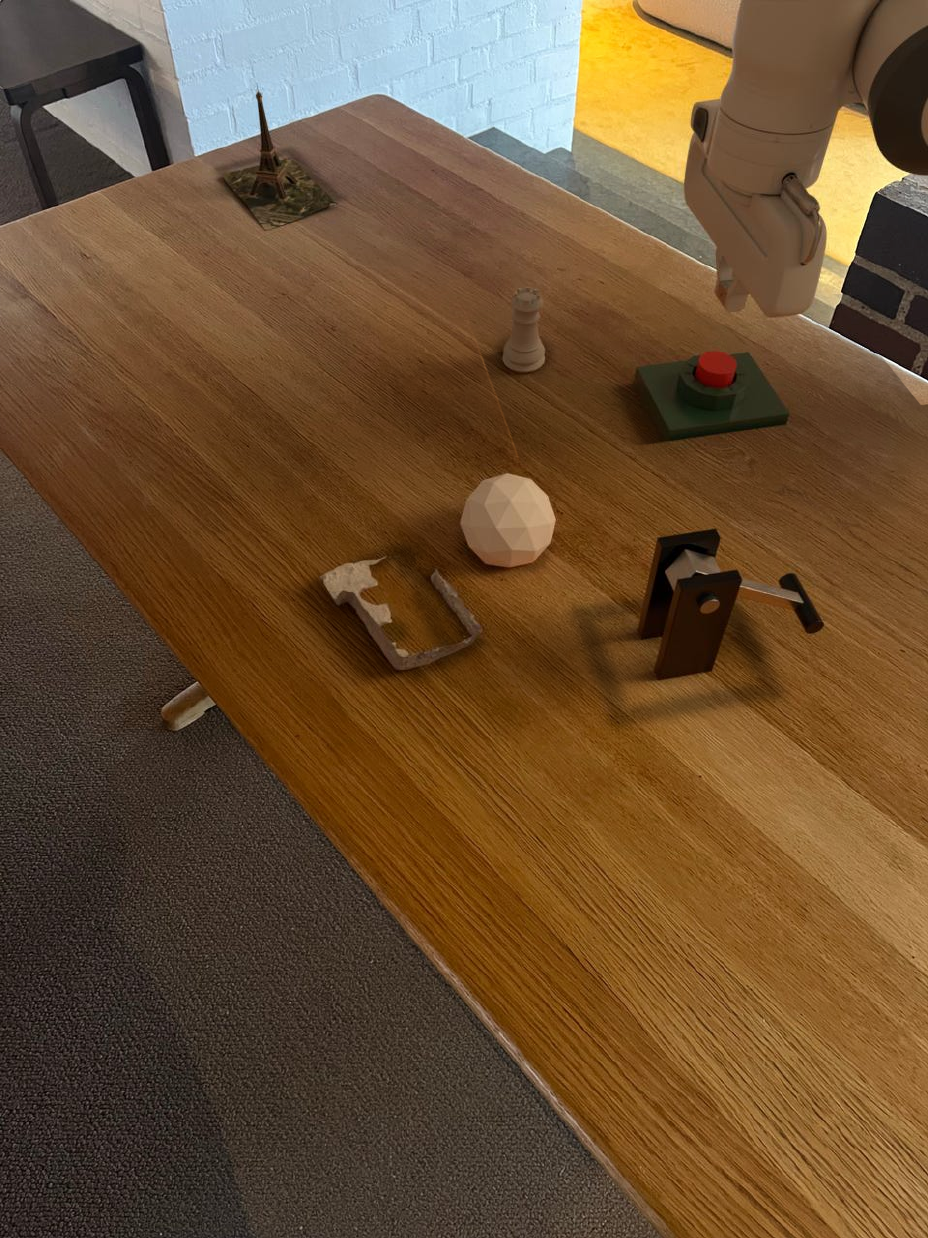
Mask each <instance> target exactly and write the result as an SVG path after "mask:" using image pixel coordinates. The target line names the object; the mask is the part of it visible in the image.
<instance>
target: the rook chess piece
mask: <svg viewBox="0 0 928 1238" xmlns="http://www.w3.org/2000/svg"><path fill="white" fill-rule="evenodd" d="M509 303H510V306H511V307H512V309H513V310H514V311H513V312H512V314H511V318H512V320H513V326H512V329H511V333H510V337H508V339H507V341H506V342H505V343H504V346H503V350H502V352H503V354H502V358H501V360H502V362H503V364H504V365H505V367H506V368H508V369H509V370H511V371H513V372H515V373H519V374H529V373H534V372H535V371H538V370H539V369H540V368H541V367H542V365H544V364H545V361H546V356H545V353H546V349H545V346H544V344H543V342H542V339H541V337H540V335H539V326H538V325H539V324H538V321H539V320H540V319H541V313H540V312H539V310H540V309H541V308H542V307H543V306H544V300H543V299H542V297H541V293H540V291H539V289H538V288H536V287H535V288H533V291H532V287H531V286H527V285H526V286H525V290H523V288H522V287H518V288H517V289H516V291H515V290H514V295H513V296H512V298H511V299H510V302H509Z"/></svg>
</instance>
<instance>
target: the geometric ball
mask: <svg viewBox="0 0 928 1238" xmlns="http://www.w3.org/2000/svg"><path fill="white" fill-rule="evenodd" d="M556 521H557V519H556V516H555V513H554V509H553V507H552V503H551V501H550V497H549V496H548V495H547V494H546V492H544V491H543V490H542V488H540V487H539V486H538V485H537V483H536V482H534V480H532V479H531V478H529V477H524V476H520V475H517V474H513V473H509V472H506V473H502V474H499V475H496V476H493V477H490V478H489V477H488V478H486V479H483V480H482V481H480V483H479V484H478V485H477V486H476V488H475V489H474V490H473V491H472V492H471V494H470V495H469V496H468V497H467V498H466V500H465V503H464V507H463V511H462V515H461V519H460V522H459V524H460V527H461V530H462V532H463V535H464V538H465V541H466V544H467V546H468V548H469V549H470V550H472V552H473V553H474V554H475V555H476V556H477V557H478V558H479V559H480V560H481V561H482V562H483V563H484V564H486V565H489V566H496V567H503V568H513V567H519V566H524V565H528V564H531V563H534V562H535V561H536V560H537V559H538V558H539V556H540V555H542V554H543V552H544V551H545V550H546V549H547V548H548V547H549V546H550V545H551V542H552V540H553V539H552V538H553V534H554V530H555V525H556Z"/></svg>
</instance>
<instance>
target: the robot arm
mask: <svg viewBox="0 0 928 1238" xmlns="http://www.w3.org/2000/svg"><path fill="white" fill-rule="evenodd" d="M731 41H732V42H731V44H732V45H731V49H732V64H731V70H730V74H729V77H728V79H727V81H726V84H725V85H724V87H723V89H722V92H721V93H720V94H721V95H720V98H716V99H709V100H701V101H697V102H694V104H693V106H692V110H691V115H690V128H691V130H692V132H693V133H692V135H691V138H690V142H689V145H688V152H687V158H686V165H685V170H684V171H685V172H684V179H683V192H684V193H683V194H684V201H685V204H686V206H687V207H688V208H689V210H690V212H691V213H692V214H693V216H694V217H695V218H696V220H697V221H698V223H699V224H700V226H701V227H702V228H703V230H704V231H705V233H706V234H707V235H708V237H709V238H710V240H711V241H712V242H713V244H714V245H715V247H716V249H715V267H716V282H715V287H714V291H713V292H714V293H713V294H714V295H715V296H716V297H717V299H718V300H719V302H720V304H721V305H722V307H723V309H724V310H725V311H726V313H730V314H731V313H737V312H738V313H739V312H741V311H743V310H744V309H745V307H746V304H747V300H748V297H749V295H750V297H751V298H752V299H753V301H754V302H755V304H756V305H757V306H758V308H759V309H760V311H761V312H762V313H763V315H764V316H765V317H766V318H783V317H793V316H798V315H802V314H803V313H805V312H806V311H808V310H809V309H810V308H811V306H812V305H813V302H814V299H815V296H816V292H817V289H818V284H819V280H820V276H821V272H822V267H823V264H824V259H825V253H826V247H827V240H828V239H827V238H828V237H827V236H828V233H827V231H828V230H827V226H826V222H825V220H824V218H823V217H822V215H821V214H820V213H819V212H820V209H821V206H820V203H819V202H818V200H817V198H816V197H815V196H814V195H812V194H810V193H809V191H808V189H809V188H810V187H812V186H813V185H814V184H815V183H816V182H817V181H818V180H819V177H820V174H821V171H822V167H823V163H824V160H825V156H826V153H827V150H828V147H829V144H830V141H831V137H832V134H833V130H834V127H835V125H836V120H837V117H838V114H839V112H840V110H841V109H842V107H844V106H845V105H848V104H851V103H853V104H864V107H865V108H866V110H867V113H868V114H867V115H868V117H869V122H870V126H871V129H872V133H873V137H874V141H875V144H876V146H877V148H878V150H879V152H880V154H881V156H883V157H884V159H885V160H886V161H887V162H888V163H890V164H891V165H892V166H893V167H895V168H897V169H898V170H900V171H902V172H905V173H907V174H911V175H916V176H922V177H923V176H924V177H928V0H740V3H739V7H738V11H737V15H736V21H735V25H734V30H733V35H732V40H731Z"/></svg>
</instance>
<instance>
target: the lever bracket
mask: <svg viewBox="0 0 928 1238" xmlns="http://www.w3.org/2000/svg"><path fill="white" fill-rule="evenodd" d="M721 539H722V537H721V535H720V533H719V531H718V529H717V528H710V529H703V530H698V531H691V532H690V531H689V532H685V533H678V534H671V535H664V536H658V537H657V538H656V543H655V548H654V552H653V556H652V560H651V564H650V565H651V566H650V571H649V574H648V580H647V584H646V589H645V593H644V598H643V602H642V607H641V611H640V616H639V620H638V625H637V629H636V631H637V635H638V636H639V639H640V640H641V641H643V640H644V641H645V640H649V639H650V640H651V639H656V638H661V640H660V644H659V648H658V653H657V657H656V660H655V665H654V668H653V673H654V675H655V677H656V680H657V681H663V680H669V679H675V678H680V677H687V676H691V675H692V676H693V675H697V674H698V675H699V674H703V673H708V672H712V671H713V669H714V666H715V663H716V661H717V657H718V654H719V651H720V649H721V645H722V642H723V641H724V636H725V634H726V630H727V627H728V625H729V621H730V619H731V615H732V613H733V610H734V606H735V604H736V600H737V597H738V596H737V595H738V592H739V589H740V586H741V583H742V578H743V577H742V576H741V574H740V572H739V570H738V569H732V570H726V571H721V572H719V573H713V574H707V575H701V576H694V577H688V578H682V579H677V582H676V586H675V589H674V591H673V588H672V586H671V584H670V582H669V580H668V577H667V575H666V573H665V571H666V570H667V568H668V567H669V566H670V565H671V564H672V563H673V562H674V561H675V560H676V559H677V558H678V556H679V555H680V554H681V553H682V552H683V551H684V550H685V549H686V550H690V551H694V552H697V553H701V554H704V555H708V556H712V557H714V558H715V559H716V556H717V553H718V549H719V546H720V542H721Z"/></svg>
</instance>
